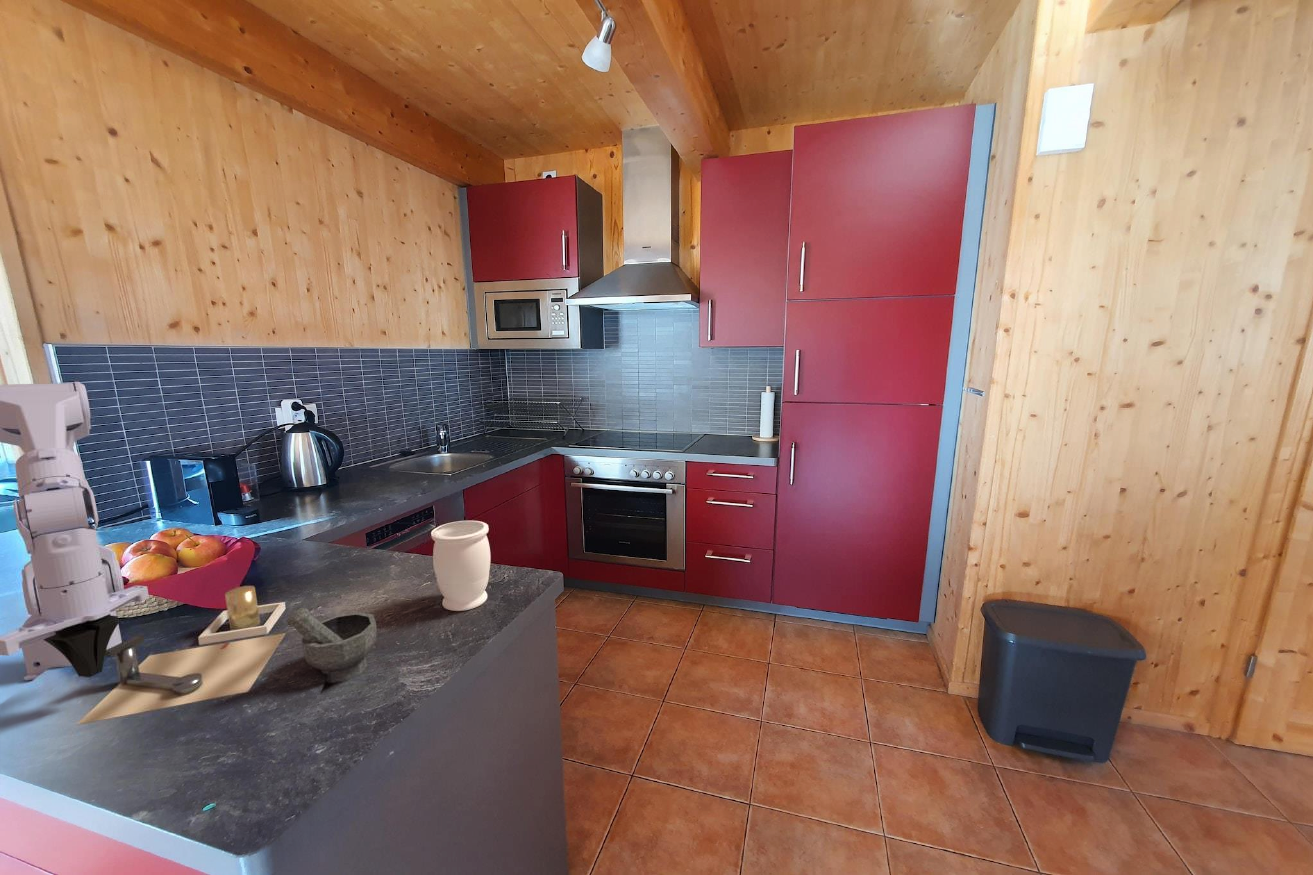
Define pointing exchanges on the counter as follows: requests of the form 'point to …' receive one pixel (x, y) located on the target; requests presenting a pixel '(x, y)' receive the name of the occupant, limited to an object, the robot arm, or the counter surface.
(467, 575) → the jar
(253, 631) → the tray
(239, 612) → the brass cylinder
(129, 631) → the counter surface
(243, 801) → the counter surface
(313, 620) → the mortar and pestle
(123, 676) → the crank
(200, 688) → the crank board
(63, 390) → the robot arm
